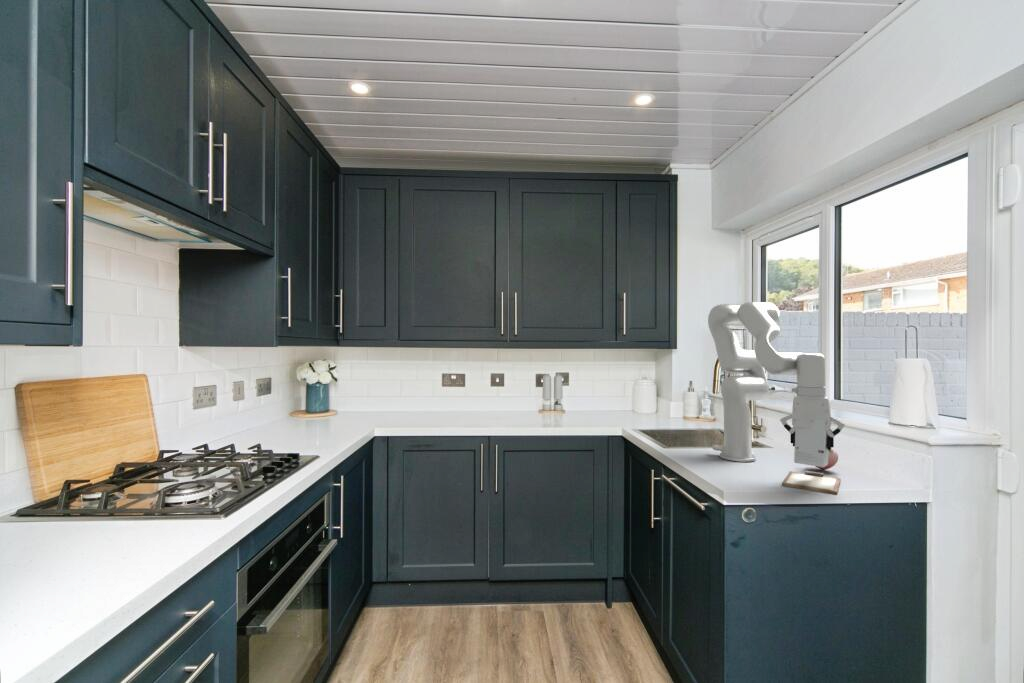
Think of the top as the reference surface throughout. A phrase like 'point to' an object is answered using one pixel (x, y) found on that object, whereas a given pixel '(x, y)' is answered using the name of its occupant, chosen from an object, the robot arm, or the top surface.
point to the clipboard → (812, 482)
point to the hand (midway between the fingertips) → (811, 447)
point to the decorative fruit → (830, 459)
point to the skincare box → (812, 444)
